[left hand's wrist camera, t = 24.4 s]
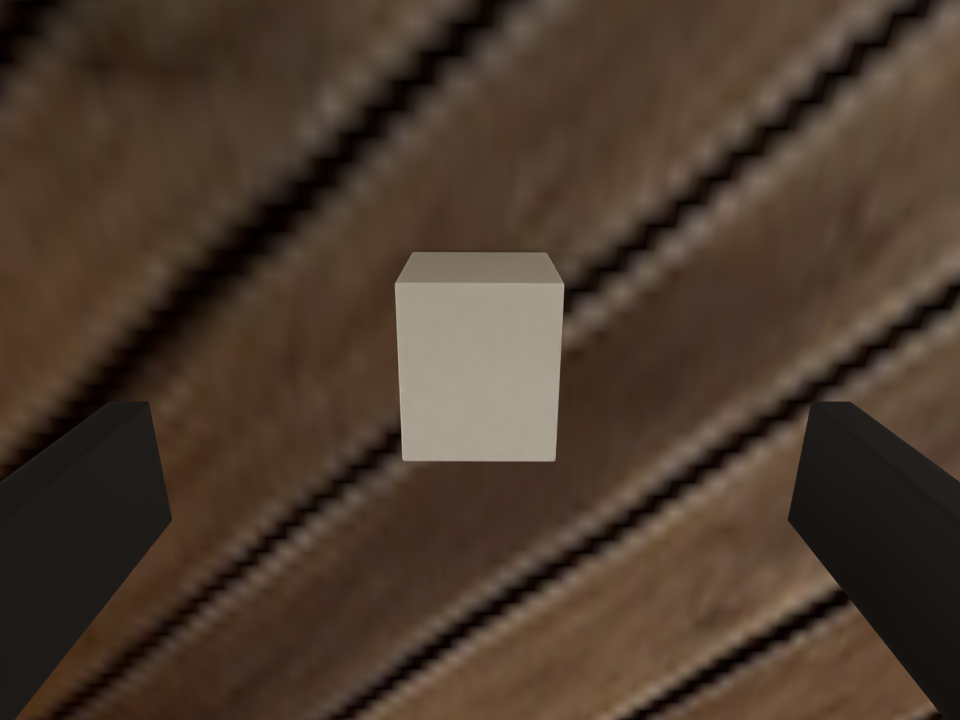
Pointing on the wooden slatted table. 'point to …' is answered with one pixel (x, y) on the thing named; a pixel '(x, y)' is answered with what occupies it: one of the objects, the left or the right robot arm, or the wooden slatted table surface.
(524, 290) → the block
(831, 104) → the wooden slatted table surface
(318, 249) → the wooden slatted table surface
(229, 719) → the wooden slatted table surface
